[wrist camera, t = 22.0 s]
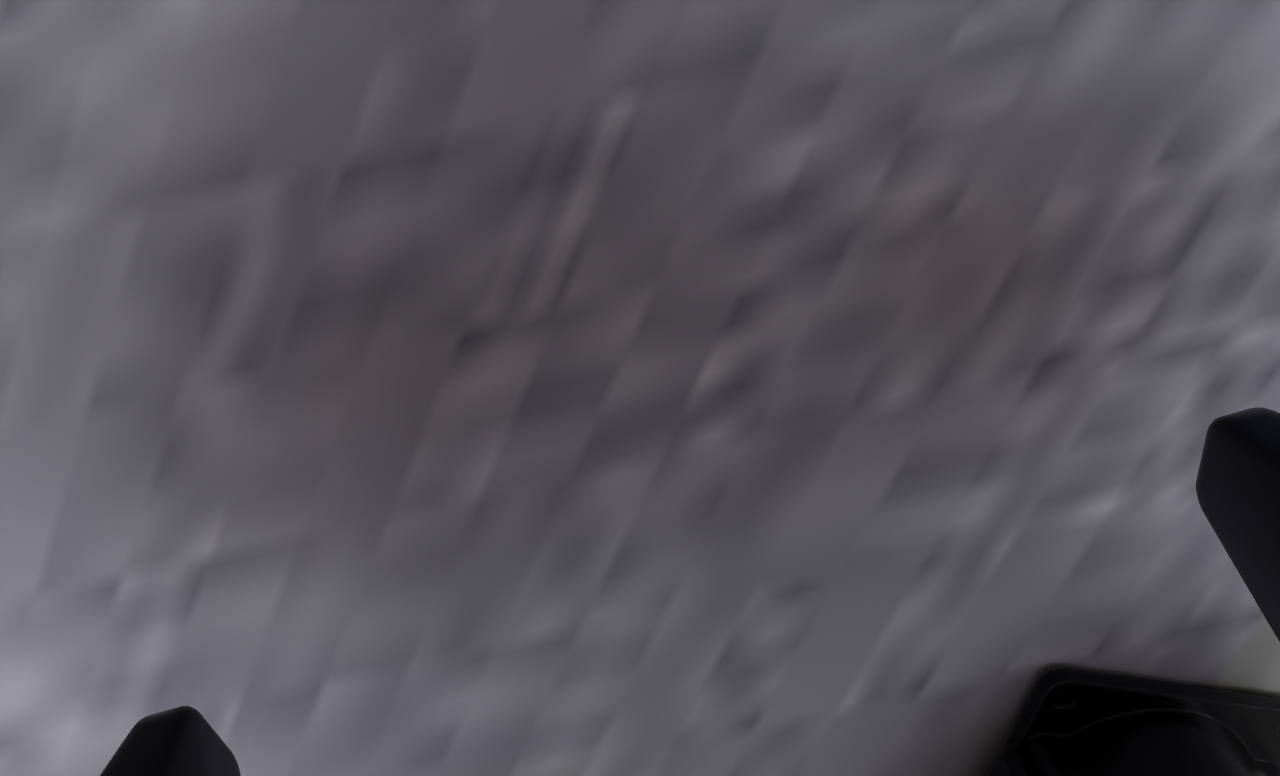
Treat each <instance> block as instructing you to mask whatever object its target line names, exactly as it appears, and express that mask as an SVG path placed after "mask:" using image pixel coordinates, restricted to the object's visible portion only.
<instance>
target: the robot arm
mask: <svg viewBox="0 0 1280 776" xmlns="http://www.w3.org/2000/svg"><path fill="white" fill-rule="evenodd" d="M1196 491H1197V497H1198V501H1199V503H1200V506H1201V508H1202V510H1203V512H1204V514H1205V516H1206V518H1207V519H1208V521H1209V523H1210V524H1211V526H1212V528H1213V529H1214V531H1215V533H1216V535H1217V536H1218V538H1219V540H1220V541H1221V543H1222V545H1223V546H1224V548H1225V550H1226V552H1227V553H1228V555H1229V557H1230V558H1231V560H1232V562H1233V563H1234V565H1235V567H1236V569H1237V570H1238V572H1239V574H1240V575H1241V577H1242V579H1243V580H1244V582H1245V584H1246V586H1247V587H1248V589H1249V591H1250V592H1251V594H1252V596H1253V597H1254V599H1255V601H1256V603H1257V604H1258V606H1259V608H1260V609H1261V611H1262V613H1263V614H1264V616H1265V618H1266V620H1267V621H1268V623H1269V625H1270V626H1271V628H1272V630H1273V631H1274V633H1275V635H1276V636H1277V638H1278V639H1279V641H1280V413H1278V412H1275V411H1272V410H1269V409H1265V408H1251V409H1247V410H1243V411H1240V412H1236V413H1232V414H1229V415H1225V416H1222V417H1219V418H1217V419H1215V420H1214V421H1213V422H1212V423H1211V425H1210V426H1209V428H1208V431H1207V435H1206V439H1205V444H1204V449H1203V453H1202V458H1201V462H1200V467H1199V471H1198V476H1197V481H1196ZM1064 690H1066V691H1065V692H1063V693H1061V694H1058V693H1060V692H1062V691H1064ZM100 776H240V770H239V767H238V764H237V761H236V759H235V757H234V755H233V754H232V752H231V751H230V749H229V748H228V747H227V746H226V745H225V743H224V742H223V741H222V740H221V738H220V737H219V736H218V735H217V733H216V732H215V731H214V730H213V729H212V727H211V726H210V725H209V724H208V722H207V721H206V720H205V719H204V717H203V716H202V715H201V714H200V713H199V712H198V711H197V710H196V709H194V708H192V707H189V706H181V707H177V708H174V709H170V710H166V711H163V712H159V713H156V714H152V715H149V716H147V717H144V718H143V719H141V720H140V721H139V722H138V723H137V724H136V725H135V726H134V727H133V728H132V729H131V731H130V732H129V734H128V735H127V737H126V738H125V740H124V741H123V743H122V744H121V745H120V747H119V748H118V750H117V751H116V753H115V754H114V756H113V757H112V759H111V760H110V762H109V763H108V764H107V766H106V767H105V769H104V770H103V772H102V773H101V775H100ZM990 776H1280V698H1277V697H1270V696H1262V695H1255V694H1248V693H1241V692H1233V691H1226V690H1219V689H1212V688H1204V687H1197V686H1190V685H1182V684H1175V683H1168V682H1161V681H1153V680H1146V679H1139V678H1131V677H1124V676H1117V675H1110V674H1102V673H1095V672H1088V671H1080V670H1073V669H1056V670H1053V671H1050V672H1048V673H1047V674H1045V675H1044V676H1042V677H1041V678H1040V680H1039V681H1038V682H1037V684H1036V686H1035V688H1034V690H1033V692H1032V694H1031V696H1030V698H1029V700H1028V702H1027V704H1026V706H1025V708H1024V710H1023V712H1022V714H1021V716H1020V718H1019V720H1018V722H1017V724H1016V726H1015V728H1014V730H1013V732H1012V734H1011V736H1010V738H1009V740H1008V742H1007V744H1006V746H1005V747H1004V749H1003V751H1002V753H1001V755H1000V756H999V758H998V760H997V762H996V764H995V766H994V768H993V770H992V772H991V774H990Z"/></svg>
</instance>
